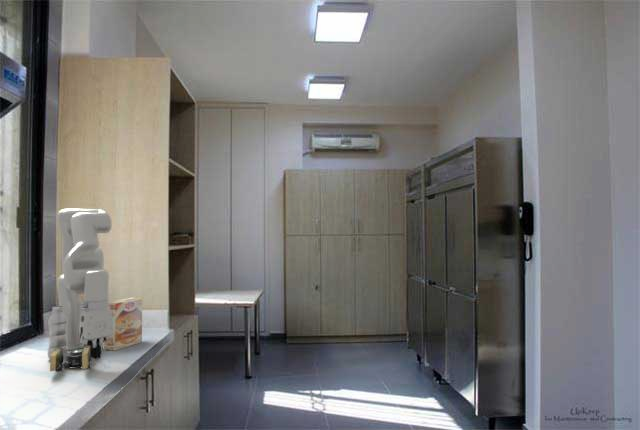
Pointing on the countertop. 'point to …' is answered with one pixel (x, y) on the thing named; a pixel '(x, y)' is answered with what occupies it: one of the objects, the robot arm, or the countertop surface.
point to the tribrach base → (78, 364)
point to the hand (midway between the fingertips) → (95, 357)
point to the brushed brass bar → (56, 360)
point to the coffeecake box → (125, 323)
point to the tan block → (86, 357)
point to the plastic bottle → (57, 330)
